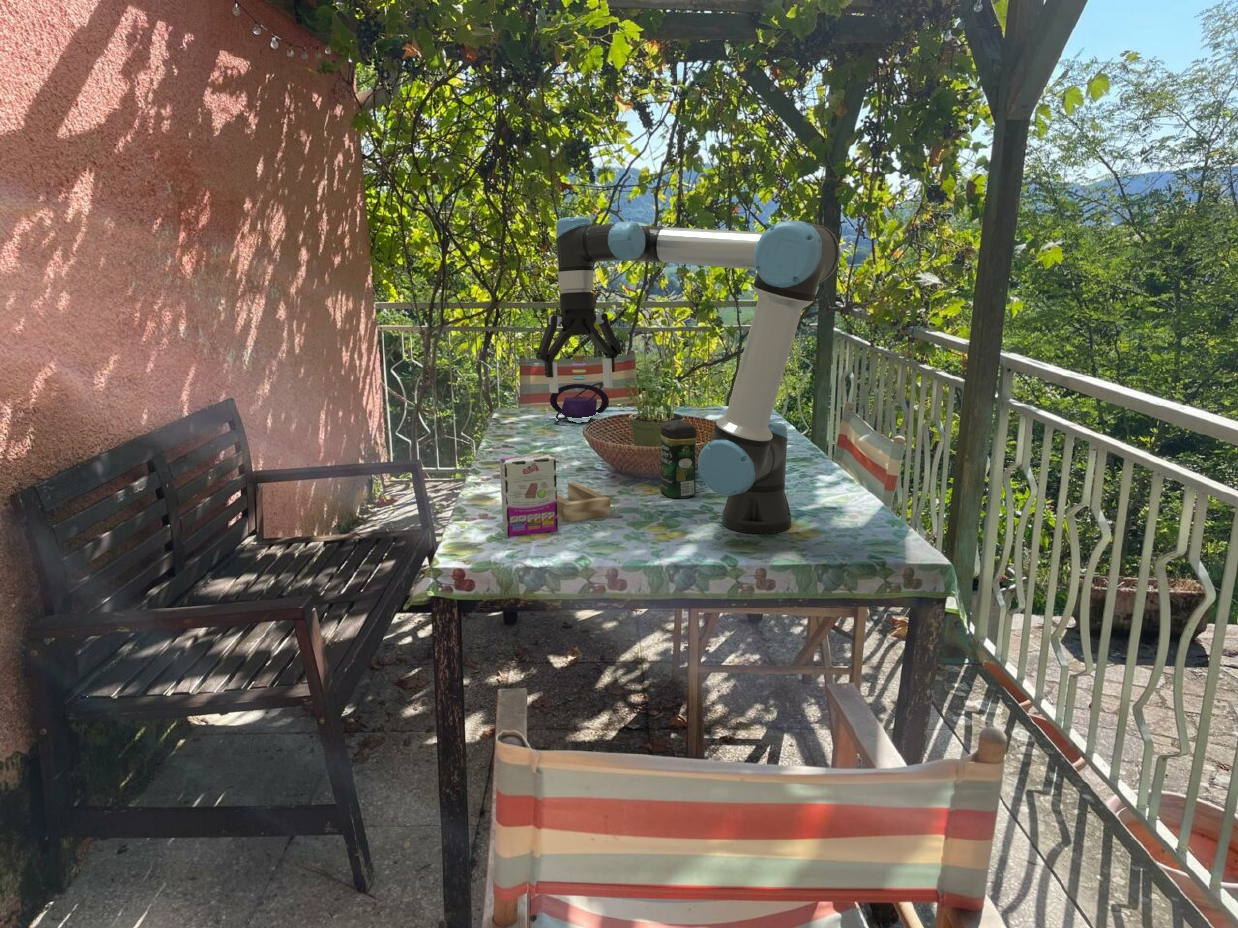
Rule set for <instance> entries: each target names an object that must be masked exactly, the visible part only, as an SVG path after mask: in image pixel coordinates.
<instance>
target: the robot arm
mask: <svg viewBox="0 0 1238 928" xmlns="http://www.w3.org/2000/svg"><path fill="white" fill-rule="evenodd" d="M555 228H556V229H555V233H556V234H555V243H556V254H557V275H558V276H557V277H558V290H559V291H560V292H561V293H560V294H559V296H558V297H559V298H558V299H559V310H560V316H557V315H555V314H553V315H548V316H547V318H546V319H547V320H546V327H545V330H544V333H543V336H542V338H541V341H540V343H539V347H538V349H537V351H536V354H535V359H536V360H539V361H542V362H543V363H544V374H545V376H544V377H546V378H548V385H549V386H548V387H549V389H548V390H549V393H551V394H552V393H558V389H559V379H558V378H559V377H558V363H557V361H555V362H553V361H554V360H555V359H556V357H557V356H558V354H559V352H561V349H562V348H563V346H564V345H565V344H566V342H567V341H568V339H570V338H571V336H575V337H576V336H588V337H589V338H590V339H591V341H592V342H593V343H594V344H595V345H596V347H597V348H598V349H599V350H600V352H601V353H602V354H603V355H604V356H605V357H604V358H602V375H603V376H602V378H603V382H602V383H603V388H607V389H613V388H614V386H613V373H614V372H615V370H616V368H615V367H616V366H615V364H616V363H615V359H616V358H617V357H618V356H619V355H622V354H623V350H622V348H621V346H620V344H619V342H618V339H617V338H616V335H615V333H614V332H613V329H612V327H611V325H610V323H609V322H610V321H609V316H608V313H604V312H601V313H598V314H595V306H596V305H595V293H594V292H592V291H593V290H594V288H595V285H594V269H593V268H594V265H593V264H594V263H597V262H614V261H619V262H620V261H621V262H622V261H627V262H629V261H632V262H634V261H636V262H649V263H651V262H652V263H666V264H680V265H692V266H704V267H713V268H714V267H715V268H716V267H718V268H726V269H728V268H729V269H740V270H751V271H752V270H754V271H756V275H755V280H754V284H753V286H752V287H753V290H754V292H755V294H756V296H757V303H756V305H755V309H754V313H753V316H752V320H751V322H750V323H751V324H750V326H749V330H748V334H747V338H746V342H745V346H744V349H743V353H742V356H741V359H740V363H739V366H738V370H737V373H736V378H735V382H734V384H733V388H732V393H731V397H730V399H729V402H728V407H727V410H726V414H725V415H723V416H721V417H720V418H718V419H716V422H715V424H714V427H713V431H712V436H711V440H710V441H709V442H708V443H706V444H705V445H704V447H703V448H702V449H701V451H700V452H699V455H698V459H697V469H698V474H699V476H700V478H701V479H702V481H703V483H704V484H705V485H706V487H708V489H710V490H711V491H713V492H714V493H716V494H718V495H722V496H727V499H726V503H725V506H724V508H723V510H722V515H721V524H722V525H723V526H725V528H727V529H730V530H732V531H737V532H741V533H747V534H748V533H749V534H775V533H781V532H784V531H787V530H789V529H790V528H791V526H792V517H793V516H792V512H791V511H790V506H789V502H788V499H787V494H786V491H785V489H786V488H785V487H786V470H787V469H786V468H787V448H788V441H789V438H788V427H787V425H785V424H784V423H781V422H777V421H776V422H775V421H770V420H771V418H772V413H773V410H774V408H775V407H774V406H775V404H776V400H777V396H778V394H779V393H778V392H779V391H780V386H781V383H782V379H783V376H784V372H785V370H786V366H787V363H788V360H789V356H790V353H791V350H792V345H793V344H794V342H793V341H794V340H795V339H794V338H795V336H796V332H797V329H798V325H799V323H800V318H801V316H802V312H803V310H804V309H805V308H806V307H808V306H809V305H811V304H813V302H814V300H815V297H816V293H817V292H818V291H817V290H818V287H819V285H820V283H822V282H824V281H825V280H827V279H828V278H829V277H830V276H832V274H833V273H834V272H835V270H837V266H839V265H838V264H839V262H840V255H841V252H840V251H841V250H840V245H839V244H840V243H839V241H838V239H837V237H836V236H835V234H834V233H833V232H832V231H831V230H830V229H829V228H827V227H826V226H823V225H821V224H818V223H810V222H804V221H802V220H795V219H792V220H787V221H780V222H777V223H775V224H773V225H772V226H770V227H769V228H767V229H766V230H765V231H762V232H760V231H745V230H744V231H743V230H726V229H724V230H723V229H710V228H709V229H705V228H689V227H670V226H669V227H668V226H667V227H665V226H653V225H640V224H639V223H638V222H636V221H618V222H613V223H605V224H597V225H592V221H591V220H590V218H589V217H587V216H568V217H565V216H564V217H562V218H559V219H558V220H557V222H556V223H555ZM560 324H561V326H562V328H561V329H560V330H559V333H558V335H557V337H556V339H555V340H554V342H553V339H554V336H555V334H556V332H557V328H558V326H559V325H560ZM595 324H597V325H598V327H599V329H600V332H602V335H603V336H604V337H602V335H601V334H600V333H599V331H598V329H597V328H596V327H595ZM604 338H605V340H604ZM552 342H553V343H552ZM551 344H552V345H551Z"/></svg>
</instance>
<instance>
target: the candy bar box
mask: <svg viewBox="0 0 1238 928" xmlns="http://www.w3.org/2000/svg"><path fill="white" fill-rule="evenodd" d="M556 461H557V460H556V457H555V456H553V455H551V454H550V453H548V454H536V455H526V456H525V455H524V456H515V457H505V458H499V469H500V490H501V495H500V496H501V515H502V517H501V518H502V531H503V533H504V535H505V537H507V538H508V539H511V538H513V537H519V536H528V535H536V534H538V535H539V534H544V533H545V534H546V533H554V532H558V531H559V526H558V519H557V517H558V516H557V495H558V493H557V491H558V490H557V489H558V488H557V462H556Z"/></svg>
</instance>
